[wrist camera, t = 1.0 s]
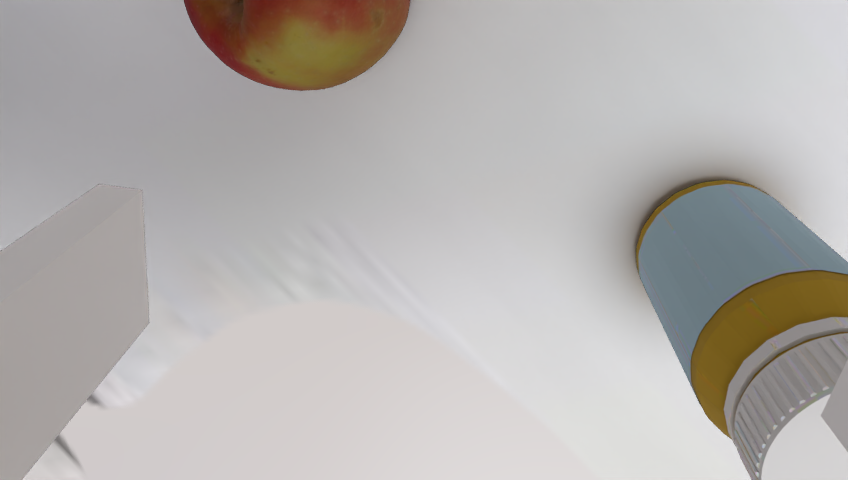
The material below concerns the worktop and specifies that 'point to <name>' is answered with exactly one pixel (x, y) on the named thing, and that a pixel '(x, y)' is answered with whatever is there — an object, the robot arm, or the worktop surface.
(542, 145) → the worktop surface
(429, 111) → the worktop surface
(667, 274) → the bottle
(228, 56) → the apple
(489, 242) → the worktop surface
